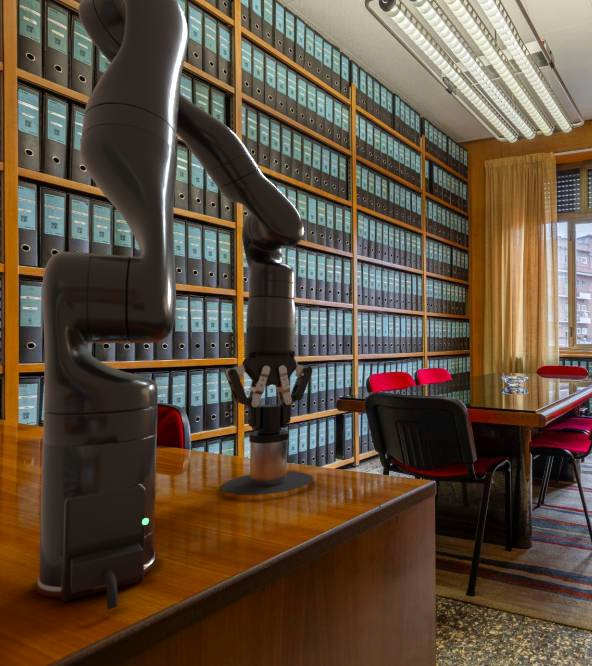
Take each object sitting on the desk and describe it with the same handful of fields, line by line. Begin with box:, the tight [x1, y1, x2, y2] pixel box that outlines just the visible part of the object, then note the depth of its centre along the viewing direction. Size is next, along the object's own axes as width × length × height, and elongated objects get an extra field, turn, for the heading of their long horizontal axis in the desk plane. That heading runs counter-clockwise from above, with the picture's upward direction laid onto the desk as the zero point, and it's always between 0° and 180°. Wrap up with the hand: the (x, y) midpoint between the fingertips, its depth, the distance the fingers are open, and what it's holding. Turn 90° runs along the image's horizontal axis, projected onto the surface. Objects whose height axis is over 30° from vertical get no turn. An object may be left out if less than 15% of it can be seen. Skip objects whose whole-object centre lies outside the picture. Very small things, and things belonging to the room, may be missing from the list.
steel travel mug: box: [248, 403, 290, 487], centre depth 84 cm, size 8×6×13 cm
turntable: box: [220, 470, 314, 496], centre depth 83 cm, size 14×14×1 cm
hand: (269, 427), depth 83 cm, fingers closed on steel travel mug, 3 cm apart
